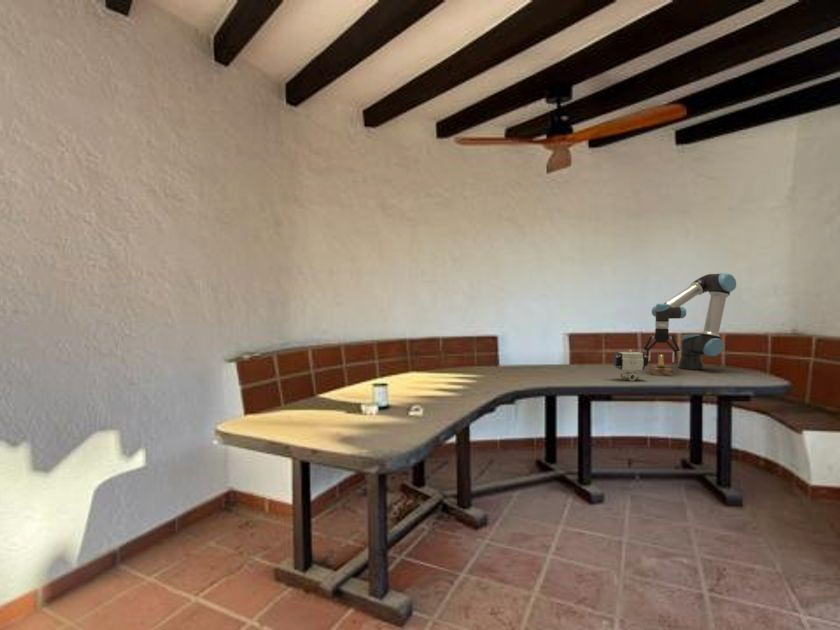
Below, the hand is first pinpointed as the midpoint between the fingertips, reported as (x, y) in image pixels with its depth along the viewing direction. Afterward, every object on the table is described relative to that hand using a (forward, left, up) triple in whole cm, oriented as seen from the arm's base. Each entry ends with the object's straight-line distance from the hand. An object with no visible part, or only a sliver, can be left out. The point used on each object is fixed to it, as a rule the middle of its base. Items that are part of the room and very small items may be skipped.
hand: (661, 361), depth 303 cm
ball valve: (+19, +31, -8) cm, 37 cm away
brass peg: (0, 0, -8) cm, 8 cm away
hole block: (0, 0, -8) cm, 8 cm away
